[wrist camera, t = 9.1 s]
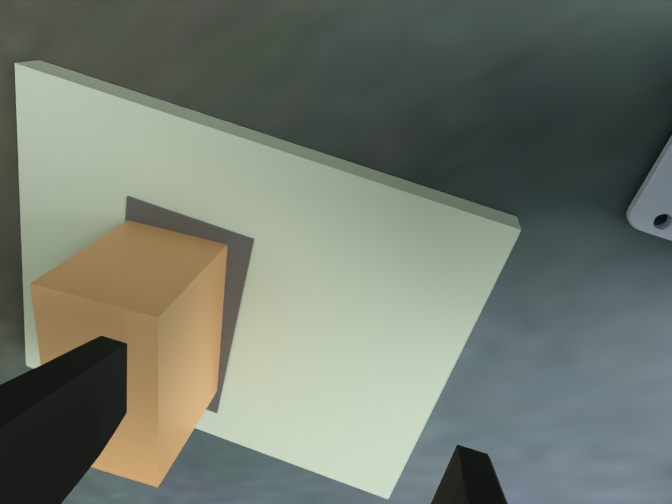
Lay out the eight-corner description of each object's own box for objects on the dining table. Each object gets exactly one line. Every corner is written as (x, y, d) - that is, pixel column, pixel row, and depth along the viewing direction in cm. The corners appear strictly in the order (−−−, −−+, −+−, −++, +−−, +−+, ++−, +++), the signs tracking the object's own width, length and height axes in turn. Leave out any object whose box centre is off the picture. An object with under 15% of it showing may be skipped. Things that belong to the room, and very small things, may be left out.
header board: (517, 216, 17) (535, 273, 14) (390, 477, 24) (379, 563, 20) (39, 60, 18) (-65, 72, 15) (44, 350, 25) (-28, 410, 21)
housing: (227, 244, 19) (157, 317, 14) (217, 390, 22) (158, 487, 17) (127, 219, 19) (29, 283, 15) (132, 367, 22) (53, 455, 18)
